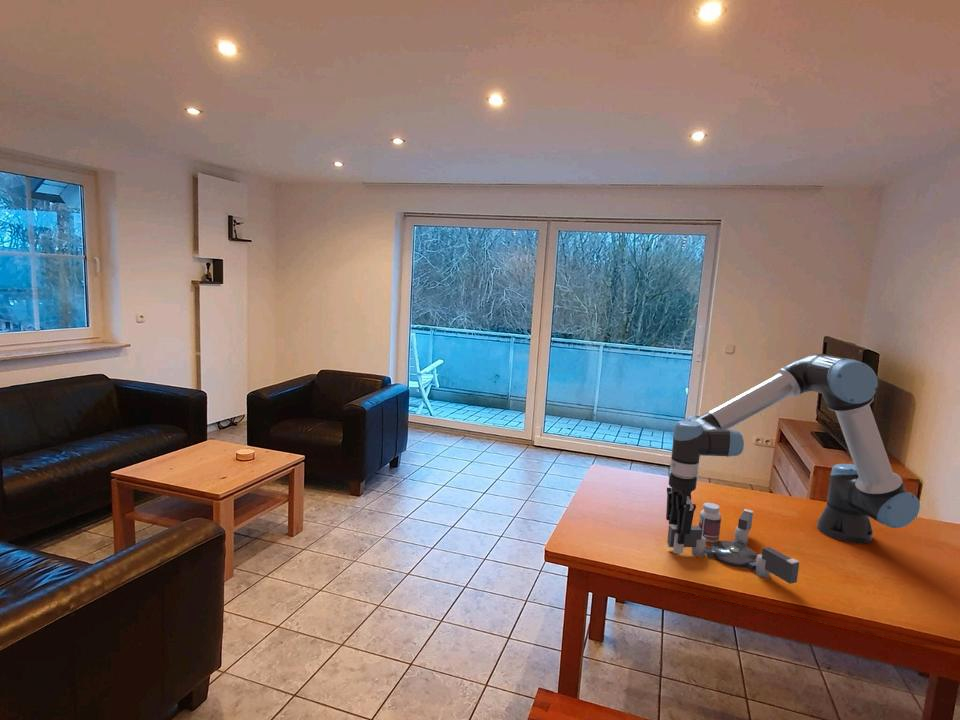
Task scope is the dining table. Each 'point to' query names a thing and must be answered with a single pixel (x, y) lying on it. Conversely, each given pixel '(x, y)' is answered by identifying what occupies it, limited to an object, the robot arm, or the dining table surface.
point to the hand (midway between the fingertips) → (675, 549)
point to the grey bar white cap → (777, 565)
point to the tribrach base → (733, 554)
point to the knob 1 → (743, 527)
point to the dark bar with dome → (689, 539)
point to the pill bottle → (710, 522)
